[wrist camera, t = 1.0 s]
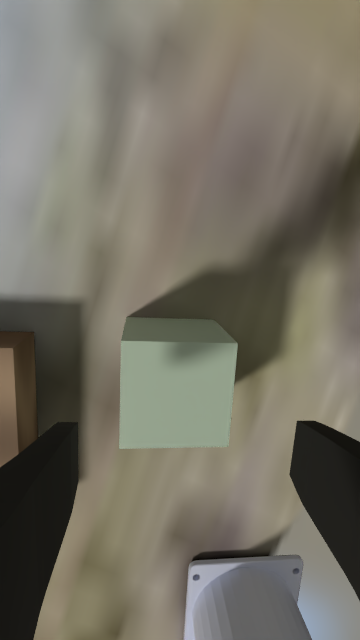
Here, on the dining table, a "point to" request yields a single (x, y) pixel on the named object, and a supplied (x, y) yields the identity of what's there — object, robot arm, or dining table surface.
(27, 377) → the base block
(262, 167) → the dining table surface
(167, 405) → the cube
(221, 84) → the dining table surface
